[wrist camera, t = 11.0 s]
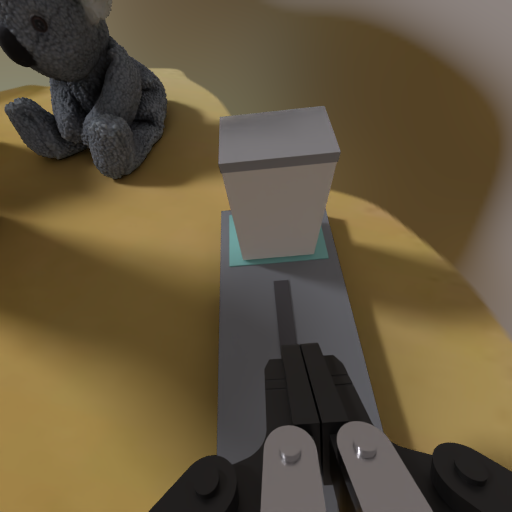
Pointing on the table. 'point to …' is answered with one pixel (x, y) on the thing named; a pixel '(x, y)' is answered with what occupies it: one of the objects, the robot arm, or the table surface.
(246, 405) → the board
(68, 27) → the koala plush
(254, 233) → the slider tab
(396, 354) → the table surface
